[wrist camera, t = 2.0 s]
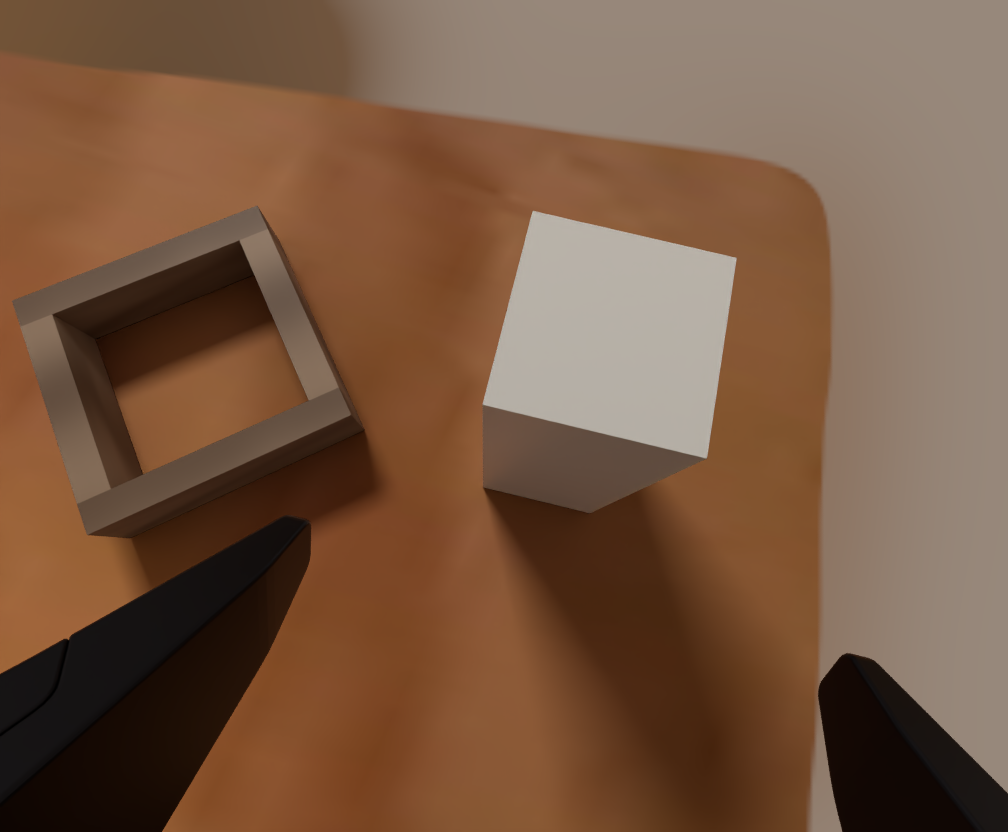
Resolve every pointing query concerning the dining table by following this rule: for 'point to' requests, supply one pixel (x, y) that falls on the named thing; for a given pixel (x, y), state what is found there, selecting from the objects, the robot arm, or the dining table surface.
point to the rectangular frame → (91, 400)
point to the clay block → (603, 364)
